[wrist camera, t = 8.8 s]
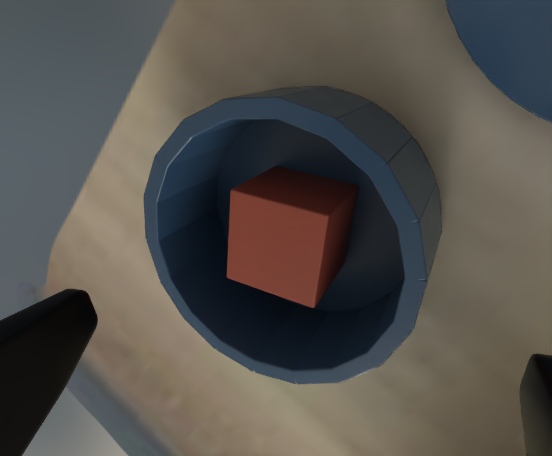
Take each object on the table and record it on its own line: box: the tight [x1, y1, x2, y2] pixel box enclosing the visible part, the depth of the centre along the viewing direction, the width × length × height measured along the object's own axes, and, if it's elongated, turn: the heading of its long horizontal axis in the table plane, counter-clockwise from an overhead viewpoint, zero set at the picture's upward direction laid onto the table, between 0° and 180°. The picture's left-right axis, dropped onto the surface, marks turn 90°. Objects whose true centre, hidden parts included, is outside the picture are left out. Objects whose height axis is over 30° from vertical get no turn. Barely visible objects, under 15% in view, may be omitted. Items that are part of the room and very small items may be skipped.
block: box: [227, 166, 359, 308], centre depth 18 cm, size 4×4×4 cm
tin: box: [144, 86, 442, 384], centre depth 18 cm, size 11×12×5 cm
